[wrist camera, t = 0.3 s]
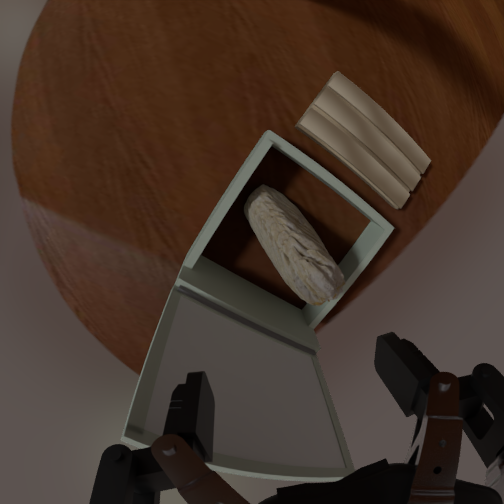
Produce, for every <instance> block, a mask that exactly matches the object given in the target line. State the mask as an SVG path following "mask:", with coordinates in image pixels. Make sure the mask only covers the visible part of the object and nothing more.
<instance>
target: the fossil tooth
mask: <svg viewBox="0 0 504 504" xmlns="http://www.w3.org/2000/svg"><path fill="white" fill-rule="evenodd" d="M244 214H245V216H246V218H247V220H248V221H249V223H250V225H251V227H252V229H253V231H254V233H255V234H256V236H257V238H258V240H259V242H260V243H261V245H262V247H263V248H264V250H265V251H266V253H267V255H268V256H269V258H270V259H271V261H272V262H273V264H274V266H275V267H276V269H277V270H278V272H279V273H280V275H281V276H282V278H283V280H284V281H285V282H286V284H287V285H288V286H290V288H291V289H292V290H293V291H294V292H295V293H296V294H297V295H298V296H299V297H300V298H301V299H302V300H305V301H306V302H307V303H309V304H311V305H314V306H321V305H322V304H323V303H324V302H326V301H327V300H328V302H330V300H335V299H337V298H338V295H339V294H340V293H342V292H343V285H345V284H346V282H345V280H344V275H343V273H342V272H341V270H340V268H339V267H338V265H337V264H336V263H335V261H334V260H333V258H332V257H331V256H329V253H328V251H327V250H326V248H325V246H324V244H323V243H322V241H321V239H320V238H319V236H318V235H317V233H316V232H315V230H314V229H313V227H312V226H311V225H310V224H309V222H308V221H307V220H306V219H305V217H304V216H303V215H302V213H301V212H300V211H299V210H298V208H297V207H296V206H295V205H294V204H292V203H291V202H290V201H289V200H288V199H287V198H286V197H285V196H284V195H283V194H281V193H280V192H278V191H277V190H275V189H274V188H270V187H268V186H266V185H264V184H262V185H261V186H260V187H258V188H257V189H255V190H254V191H253V192H252V193H251V195H250V196H249V197H248V199H247V201H246V203H245V205H244Z"/></svg>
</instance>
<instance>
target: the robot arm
mask: <svg viewBox="0 0 504 504" xmlns="http://www.w3.org/2000/svg"><path fill="white" fill-rule="evenodd" d="M374 364H375V369H376V371H377V373H378V375H379V376H380V378H381V379H382V381H383V382H384V384H385V385H386V387H387V388H388V390H389V391H390V393H391V394H392V396H393V397H394V399H395V400H396V402H397V403H398V405H399V406H400V408H401V409H402V411H403V412H404V414H405V415H406V417H409V416H411V415H413V414H415V415H416V416H417V419H416V421H415V426H414V430H413V435H412V439H411V443H410V447H409V450H408V454H407V456H406V458H405V461H404V463H392V464H388V462H387V460H386V459H383V460H381V461H378V462H376V463H373V464H370V465H367V466H365V467H362V468H360V469H358V470H356V471H355V472H353V473H351V474H349V475H348V476H346V477H344V478H342V479H340V480H338V481H336V482H327V483H304V484H299V485H294V486H288V487H283V488H277V494H276V495H274V496H271V497H269V498H267V499H265V500H263V501H262V502H260V503H259V504H504V376H503V375H502V374H501V373H500V372H499V371H498V370H497V369H496V368H495V367H494V366H492V365H490V364H487V363H482V364H479V365H477V366H476V367H475V368H474V369H473V372H472V374H471V375H467V376H463V377H458V378H457V377H456V376H455V375H454V374H452V373H449V372H439V370H438V369H437V368H436V367H435V366H434V365H433V364H432V363H431V362H430V361H429V360H428V359H427V358H426V356H424V355H423V354H422V352H421V351H420V350H418V348H417V347H416V346H415V345H414V344H413V343H412V342H410V341H408V340H406V339H401V340H400V339H399V337H397V335H396V334H395V333H393V332H390V333H387V334H384V335H381V336H378V337H377V342H376V352H375V360H374ZM170 401H171V402H170V404H169V409H168V413H167V417H166V422H165V426H164V431H163V435H162V436H160V437H159V438H157V439H156V440H155V441H154V442H153V444H152V446H150V447H147V448H143V449H138V450H133V451H131V450H130V449H129V448H128V447H127V446H125V445H121V444H115V445H112V446H110V447H108V448H107V449H106V450H105V451H104V452H103V454H102V457H101V460H100V464H99V468H98V471H97V475H96V479H95V483H94V487H93V491H92V495H91V499H90V504H159V503H160V491H163V490H168V489H173V488H177V489H178V492H179V493H180V495H181V496H182V497H183V498H184V500H185V501H186V502H187V503H188V504H250V503H249V502H248V501H247V500H245V499H244V498H243V497H242V496H241V495H240V494H239V493H237V492H236V491H235V490H234V489H233V488H232V487H231V486H230V485H229V484H228V483H227V482H226V481H224V480H223V479H222V478H221V477H220V476H219V475H218V474H217V473H216V472H215V471H212V470H211V469H210V468H209V467H208V466H207V465H206V464H205V462H213V437H214V416H215V400H214V395H213V392H212V389H211V386H210V384H209V381H208V378H207V375H206V373H205V371H199V372H189V373H188V374H187V378H186V383H185V384H178V385H177V387H176V388H175V389H174V391H173V392H172V396H171V400H170ZM484 404H485V405H486V406H487V407H488V409H489V410H490V411H491V412H492V414H493V416H494V420H493V419H492V417H491V416H490V415H489V413H488V412H487V411H486V409H485V408H484V407H483V405H484ZM462 429H463V430H464V432H465V433H466V435H467V436H468V438H469V439H470V441H471V443H472V444H473V446H474V447H475V449H476V451H477V452H478V454H479V455H480V457H481V459H482V461H483V462H484V464H485V466H486V467H487V472H486V479H485V485H486V486H483V485H479V484H474V483H470V482H466V481H462V480H458V479H456V474H457V469H458V463H459V457H460V449H461V440H462Z"/></svg>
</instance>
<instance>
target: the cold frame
mask: <svg viewBox="0 0 504 504" xmlns="http://www.w3.org/2000/svg"><path fill="white" fill-rule="evenodd" d="M271 146H272V147H274V148H275V149H277V150H278V151H280V152H281V153H283V154H284V155H286V156H287V157H288V158H290V159H291V160H293V161H294V162H296V163H297V164H298V165H300V166H301V167H303V168H304V169H305V170H307V171H308V172H310V173H311V174H312V175H314V176H315V177H316V178H318V179H319V180H320V181H322V182H323V183H324V184H326V185H327V186H328V187H330V188H331V189H332V190H334V191H335V192H336V193H337V194H339V195H340V196H341V197H343V198H344V199H345V200H346V201H348V202H349V203H350V204H351V205H353V206H354V207H355V208H356V209H357V210H359V211H360V212H361V213H362V214H363V215H365V216H366V217H367V218H368V219H369V220H371V222H370V223H369V224H368V226H367V227H366V229H365V230H364V231H363V233H362V234H361V236H360V237H359V238H358V240H357V241H356V242H355V244H354V245H353V246H352V248H351V249H350V250H349V252H348V253H347V254H346V256H345V257H344V258H343V260H342V261H341V262H340V263H339V265H338V267H339V268H340V270H341V272H342V273H343V275H344V280H345V282H346V284H345V285H343V292H342V293H340V294H339V295H338V298H337V299H335V300H330V302H328V300H327V301H326V302H324V303H323V304H322V305H321V306H314V305H311V304H309V303H307V304H306V306H305V307H304V308H303V309H302V310H301V309H299V308H297V307H295V306H293V305H291V304H290V303H288V302H286V301H284V300H282V299H280V298H278V297H277V296H275V295H273V294H271V293H269V292H267V291H265V290H264V289H262V288H260V287H258V286H256V285H254V284H253V283H251V282H249V281H247V280H245V279H243V278H242V277H240V276H238V275H236V274H234V273H233V272H231V271H229V270H227V269H225V268H224V267H222V266H220V265H218V264H216V263H215V262H213V261H211V260H209V259H208V258H206V257H204V256H202V255H201V253H202V251H203V250H204V248H205V246H206V245H207V243H208V242H209V240H210V238H211V237H212V235H213V234H214V232H215V230H216V229H217V227H218V226H219V224H220V222H221V221H222V219H223V218H224V216H225V215H226V213H227V211H228V210H229V208H230V207H231V205H232V204H233V202H234V201H235V199H236V198H237V196H238V194H239V193H240V191H241V190H242V188H243V187H244V185H245V184H246V182H247V181H248V179H249V178H250V176H251V175H252V173H253V172H254V170H255V169H256V167H257V166H258V164H259V163H260V162H261V160H262V159H263V157H264V156H265V154H266V153H267V151H268V150H269V148H270V147H271ZM393 229H394V227H393V226H392V225H391V224H390V223H389V222H387V221H386V220H385V219H384V218H383V217H382V216H381V215H380V214H379V213H377V212H376V211H375V210H374V209H373V208H372V207H371V206H369V205H368V204H367V203H366V202H365V201H364V200H363V199H361V198H360V197H359V196H358V195H357V194H355V193H354V192H353V191H352V190H351V189H349V188H348V187H347V186H346V185H344V184H343V183H342V182H341V181H339V180H338V179H337V178H336V177H334V176H333V175H332V174H330V173H329V172H328V171H327V170H325V169H324V168H323V167H321V166H320V165H319V164H317V163H316V162H315V161H313V160H312V159H311V158H309V157H308V156H306V155H305V154H304V153H302V152H301V151H300V150H298V149H297V148H295V147H294V146H292V145H291V144H290V143H288V142H287V141H285V140H284V139H282V138H281V137H279V136H278V135H276V134H275V133H273V132H272V131H270V130H268V131H266V132H265V133H264V134H263V136H262V137H261V139H260V140H259V141H258V143H257V144H256V146H255V147H254V149H253V150H252V152H251V153H250V155H249V156H248V158H247V159H246V161H245V162H244V164H243V165H242V167H241V168H240V170H239V171H238V173H237V174H236V176H235V177H234V179H233V180H232V182H231V183H230V185H229V186H228V188H227V190H226V191H225V193H224V194H223V196H222V197H221V199H220V201H219V202H218V204H217V205H216V207H215V209H214V210H213V212H212V213H211V215H210V217H209V218H208V220H207V222H206V223H205V225H204V226H203V228H202V230H201V231H200V233H199V235H198V236H197V238H196V240H195V241H194V243H193V245H192V246H191V248H190V250H189V252H188V253H187V255H186V258H185V260H184V262H183V265H182V267H181V270H180V272H179V275H178V277H177V280H176V282H175V285H174V287H173V288H172V290H171V292H170V295H169V297H168V300H167V302H166V305H165V307H164V310H163V313H162V315H161V318H160V321H159V323H158V326H157V329H156V331H155V334H154V337H153V340H152V343H151V345H150V348H149V351H148V354H147V357H146V360H145V363H144V366H143V369H142V372H141V375H140V378H139V381H138V384H137V387H136V390H135V393H134V397H133V400H132V403H131V406H130V409H129V413H128V416H127V420H126V423H125V427H124V430H123V434H122V437H121V441H123V442H125V443H127V444H130V445H133V446H135V447H137V448H140V449H143V448H147V447H150V446H152V444H153V442H154V441H155V440H156V439H157V438H159V437H160V436H162V435H163V431H164V426H165V422H166V417H167V413H168V409H169V404H170V402H171V401H170V400H171V396H172V392H173V391H174V389H175V388H176V387H177V385H178V384H185V383H186V378H187V374H188V373H189V372H199V371H205V373H206V375H207V378H208V381H209V384H210V386H211V389H212V392H213V395H214V400H215V416H214V437H213V462H205V464H206V465H207V466H208V467H209V468H210V469H211V470H215V471H220V472H225V473H230V474H236V475H242V476H249V477H256V478H265V479H275V480H288V481H338V480H340V479H342V478H344V477H346V476H348V475H349V474H351V473H353V472H355V469H354V466H353V463H352V460H351V457H350V453H349V450H348V447H347V444H346V441H345V437H344V434H343V431H342V428H341V426H340V422H339V419H338V416H337V413H336V410H335V407H334V404H333V401H332V398H331V395H330V392H329V389H328V386H327V383H326V381H325V378H324V375H323V372H322V369H321V366H320V364H319V361H318V358H317V355H316V353H317V352H318V351H319V350H320V349H321V348H320V345H319V342H318V340H317V337H316V334H315V332H314V328H315V327H316V326H317V325H318V324H319V322H320V321H321V320H322V319H323V318H324V317H325V316H326V315H327V313H328V312H329V311H330V310H331V309H332V308H333V306H334V305H335V304H336V303H337V302H338V301H339V299H340V298H341V297H342V296H343V295H344V293H345V292H346V291H347V290H348V289H349V287H350V286H351V285H352V284H353V282H354V281H355V280H356V279H357V277H358V276H359V275H360V274H361V272H362V271H363V270H364V269H365V267H366V266H367V265H368V263H369V262H370V261H371V259H372V258H373V257H374V255H375V254H376V253H377V251H378V250H379V249H380V247H381V246H382V245H383V243H384V242H385V241H386V239H387V238H388V236H389V235H390V234H391V232H392V231H393Z"/></svg>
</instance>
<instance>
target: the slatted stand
mask: <svg viewBox="0 0 504 504" xmlns="http://www.w3.org/2000/svg"><path fill="white" fill-rule="evenodd" d="M295 128H297V129H298V130H299V131H301V132H302V133H304V134H305V135H306V136H308V137H309V138H311V139H312V140H313V141H315V142H316V143H317V144H319V145H320V146H321V147H323V148H324V149H325V150H327V151H328V152H329V153H330V154H332V155H333V156H334V157H335V158H337V159H338V160H339V161H340V162H342V163H343V164H344V165H345V166H347V167H348V168H349V169H350V170H351V171H353V172H354V173H355V174H356V175H357V176H359V177H360V178H361V179H362V180H363V181H364V182H365V183H367V184H368V185H369V186H370V187H371V188H372V189H373V190H374V191H376V192H377V193H378V194H379V195H380V196H381V197H382V198H383V199H384V200H385V201H386V202H387V203H388V204H390V205H391V206H392V207H393V208H396V209H398V208H400V209H401V208H402V207H403V205H404V204H405V202H406V200H407V199H408V197H409V196H410V194H409V191H410V190H411V191H413V190H414V188H415V186H416V185H417V183H418V182H419V180H420V178H421V177H420V174H424V172H425V170H426V169H427V167H428V165H429V164H430V162H431V160H430V159H429V158H428V156H427V155H426V154H425V153H424V152H423V151H422V149H421V148H420V147H419V146H418V145H417V144H416V143H415V142H414V140H413V139H412V138H411V137H410V136H409V135H408V134H407V133H406V132H405V131H404V130H403V129H402V128H401V127H400V126H399V125H398V123H397V122H396V121H395V120H394V119H393V118H391V117H390V116H389V115H388V114H387V113H386V112H385V111H384V110H383V109H382V108H381V107H380V106H379V105H378V104H377V103H376V102H375V101H373V100H372V99H371V98H370V97H369V96H368V95H367V94H365V93H364V92H363V91H362V90H361V89H360V88H358V87H357V86H356V85H355V84H354V83H352V82H351V81H350V80H349V79H347V78H346V77H345V76H344V75H342V74H341V73H340V72H338V71H337V72H336V73H334V74H333V75H332V77H331V78H330V79H329V81H328V82H327V83H326V85H325V86H324V87H323V89H322V90H321V91H320V93H319V94H318V95H317V97H316V98H315V100H314V101H313V102H312V104H311V105H310V106H309V108H308V109H307V111H306V112H305V113H304V115H303V116H302V117H301V119H300V120H299V122H298V123H297V124H296V126H295Z"/></svg>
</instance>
